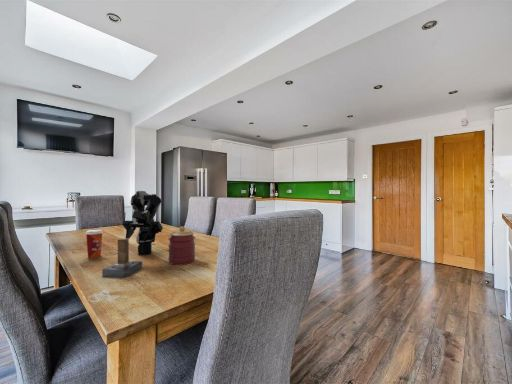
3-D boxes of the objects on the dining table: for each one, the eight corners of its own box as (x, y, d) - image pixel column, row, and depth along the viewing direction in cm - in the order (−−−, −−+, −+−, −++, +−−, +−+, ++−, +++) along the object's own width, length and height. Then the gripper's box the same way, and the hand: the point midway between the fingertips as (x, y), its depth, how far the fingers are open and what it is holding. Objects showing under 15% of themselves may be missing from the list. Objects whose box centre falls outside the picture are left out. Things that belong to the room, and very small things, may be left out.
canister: (187, 266, 113) (187, 229, 112) (162, 264, 115) (163, 227, 115) (199, 258, 125) (199, 225, 125) (177, 256, 128) (177, 224, 128)
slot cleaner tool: (123, 267, 107) (123, 237, 107) (131, 267, 107) (131, 237, 106) (114, 271, 101) (114, 240, 101) (122, 272, 101) (122, 240, 101)
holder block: (122, 266, 111) (122, 260, 110) (142, 268, 109) (142, 261, 109) (102, 276, 99) (102, 269, 99) (124, 277, 97) (124, 270, 97)
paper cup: (96, 258, 123) (96, 231, 122) (81, 258, 123) (81, 231, 123) (106, 254, 130) (106, 229, 130) (92, 254, 131) (92, 229, 130)
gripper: (124, 204, 118) (108, 230, 107) (159, 204, 116) (146, 231, 105) (134, 218, 126) (120, 243, 115) (167, 219, 124) (156, 245, 113)
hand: (135, 240), depth 112 cm, fingers open, 9 cm apart
